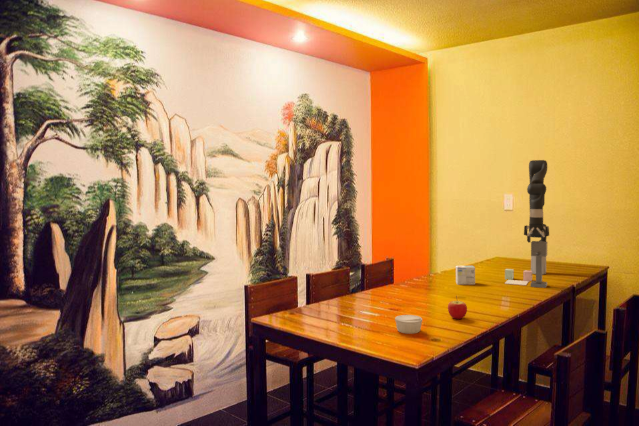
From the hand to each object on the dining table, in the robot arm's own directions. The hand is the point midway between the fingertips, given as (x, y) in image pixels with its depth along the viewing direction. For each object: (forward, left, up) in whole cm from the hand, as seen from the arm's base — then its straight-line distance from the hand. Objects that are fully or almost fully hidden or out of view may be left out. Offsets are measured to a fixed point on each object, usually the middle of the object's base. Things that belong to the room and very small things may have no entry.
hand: (536, 242), depth 307 cm
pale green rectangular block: (-2, -16, -24) cm, 29 cm away
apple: (+106, -21, -24) cm, 111 cm away
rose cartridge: (-1, -5, -24) cm, 24 cm away
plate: (+9, -10, -24) cm, 27 cm away
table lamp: (+14, +3, -24) cm, 28 cm away
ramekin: (+134, -34, -24) cm, 141 cm away
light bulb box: (+25, -37, -24) cm, 51 cm away
